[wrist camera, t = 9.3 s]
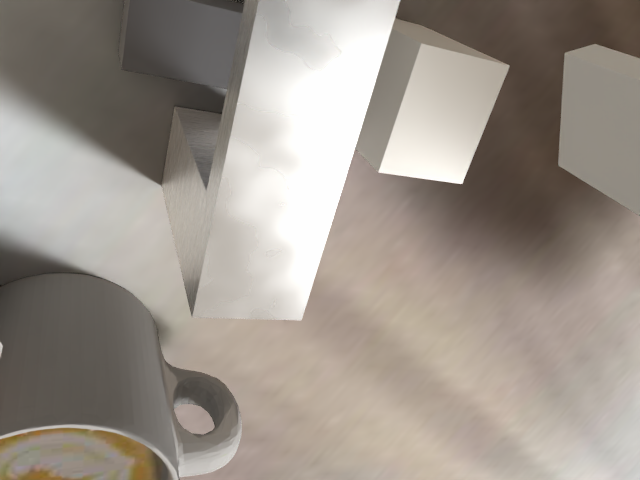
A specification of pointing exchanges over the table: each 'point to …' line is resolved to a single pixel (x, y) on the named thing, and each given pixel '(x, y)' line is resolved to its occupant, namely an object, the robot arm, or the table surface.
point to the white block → (387, 96)
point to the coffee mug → (98, 389)
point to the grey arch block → (272, 155)
